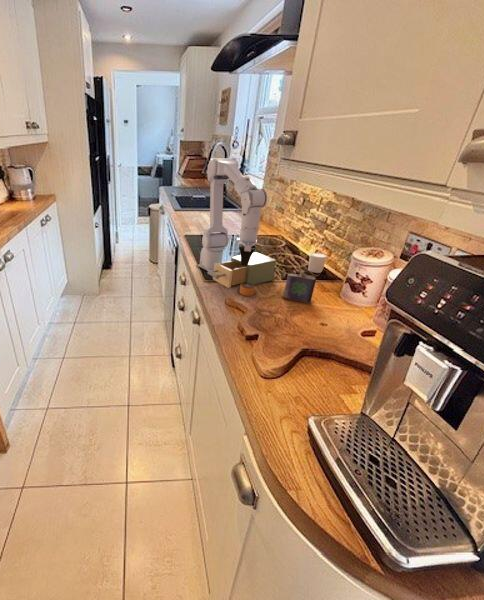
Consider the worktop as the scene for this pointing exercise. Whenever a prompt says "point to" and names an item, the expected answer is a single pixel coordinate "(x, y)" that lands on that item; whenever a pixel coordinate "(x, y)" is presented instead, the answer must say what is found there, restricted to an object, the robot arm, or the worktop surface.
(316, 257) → the shot glass
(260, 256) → the cabinet
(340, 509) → the worktop surface
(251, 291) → the donut
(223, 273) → the drawer
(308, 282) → the flask
